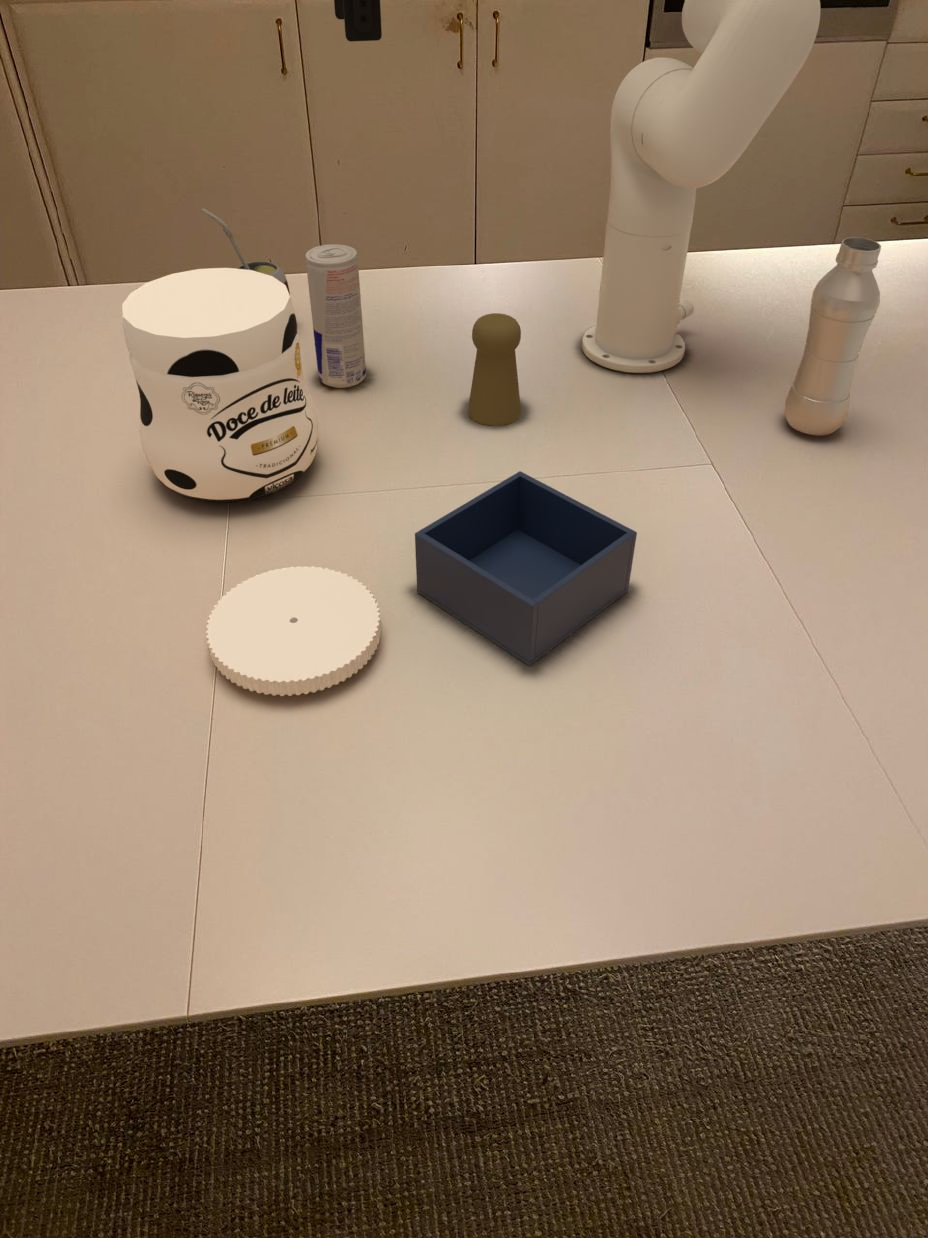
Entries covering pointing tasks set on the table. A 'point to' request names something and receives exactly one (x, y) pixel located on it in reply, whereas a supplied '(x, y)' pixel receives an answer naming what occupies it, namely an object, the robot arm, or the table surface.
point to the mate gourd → (257, 266)
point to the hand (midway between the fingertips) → (357, 28)
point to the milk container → (220, 383)
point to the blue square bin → (524, 565)
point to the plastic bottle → (834, 339)
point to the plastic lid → (293, 630)
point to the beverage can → (336, 314)
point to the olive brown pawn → (495, 371)
